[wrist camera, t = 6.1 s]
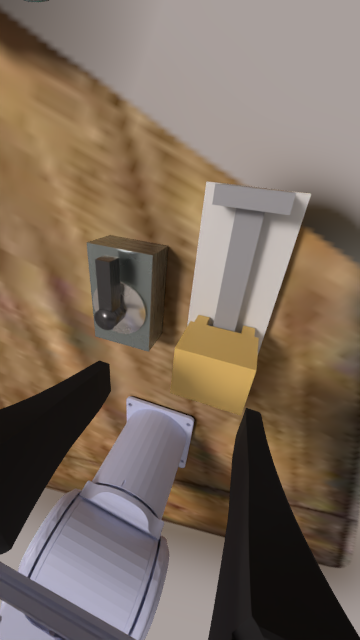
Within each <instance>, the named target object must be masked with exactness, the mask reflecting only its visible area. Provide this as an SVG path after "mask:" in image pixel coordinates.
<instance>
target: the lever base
mask: <svg viewBox="0 0 360 640" xmlns="http://www.w3.org/2000/svg"><path fill="white" fill-rule="evenodd" d="M87 251H88V262H89V272H90V283H91V293H92V304H93V314H94V315H95V313H96V312H97V311H98V310H99V303H98V290H97V278H96V265H95V259H97V258H99V257H101V256H104V255H110V256H115V257H119V265H120V299H121V304H122V305H123V306H124V308H125V311H126V316H125V318H124V319H123V320H121V321H120V322H119V323H118V324H117V325H116V326H115V327H114V328H113V329H111V330H104V329H102V328H100V327H99V326H98V325H97V324H96V322H95V319H94V325H95V335H96V337H100V338H103V339H107V340H110V341H114V342H117V343H121V344H124V345H128V346H131V347H135V348H138V349H141V350H145V351H148V352H149V350H150V349H151V348H152V346H153V345H154V343H155V342H156V341H157V339H158V338H159V337H160V335H161V334H162V326H163V312H164V298H165V285H166V271H167V257H168V246H167V245H161V244H156V243H150V242H145V241H139V240H134V239H128V238H123V237H117V236H112V235H109V236H106V237H103V238H99V239H96V240H93V241H90V242H87Z"/></svg>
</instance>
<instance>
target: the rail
mask: <svg viewBox="0 0 360 640" xmlns="http://www.w3.org/2000/svg"><path fill="white" fill-rule="evenodd" d="M310 196H311V194H309V193H300V192H292V191H284V190H275V189H266V188H258V187H250V186H241V185H233V184H224V183H216V182H206V189H205V197H204V204H203V212H202V219H201V227H200V234H199V242H198V249H197V257H196V264H195V272H194V279H193V287H192V294H191V302H190V309H189V317H188V324H187V326H188V325H189V323H190V321H192V322H195V320H196V318H197V316H198V315H201V316H205V317H209V323H208V325H209V326H213V327H217V328H221V329H225V330H229V331H233V332H237V333H241V331H242V328H243V326H247V327H251V328H255V336H254V337H257V338H259V341H258V353H259V350H260V347H261V344H262V341H263V338H264V335H265V332H266V329H267V326H268V323H269V320H270V317H271V314H272V311H273V308H274V305H275V302H276V299H277V296H278V293H279V290H280V287H281V284H282V281H283V278H284V275H285V272H286V269H287V266H288V263H289V260H290V257H291V254H292V251H293V247H294V244H295V241H296V238H297V235H298V232H299V229H300V226H301V223H302V220H303V217H304V214H305V211H306V208H307V205H308V202H309V199H310Z"/></svg>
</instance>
